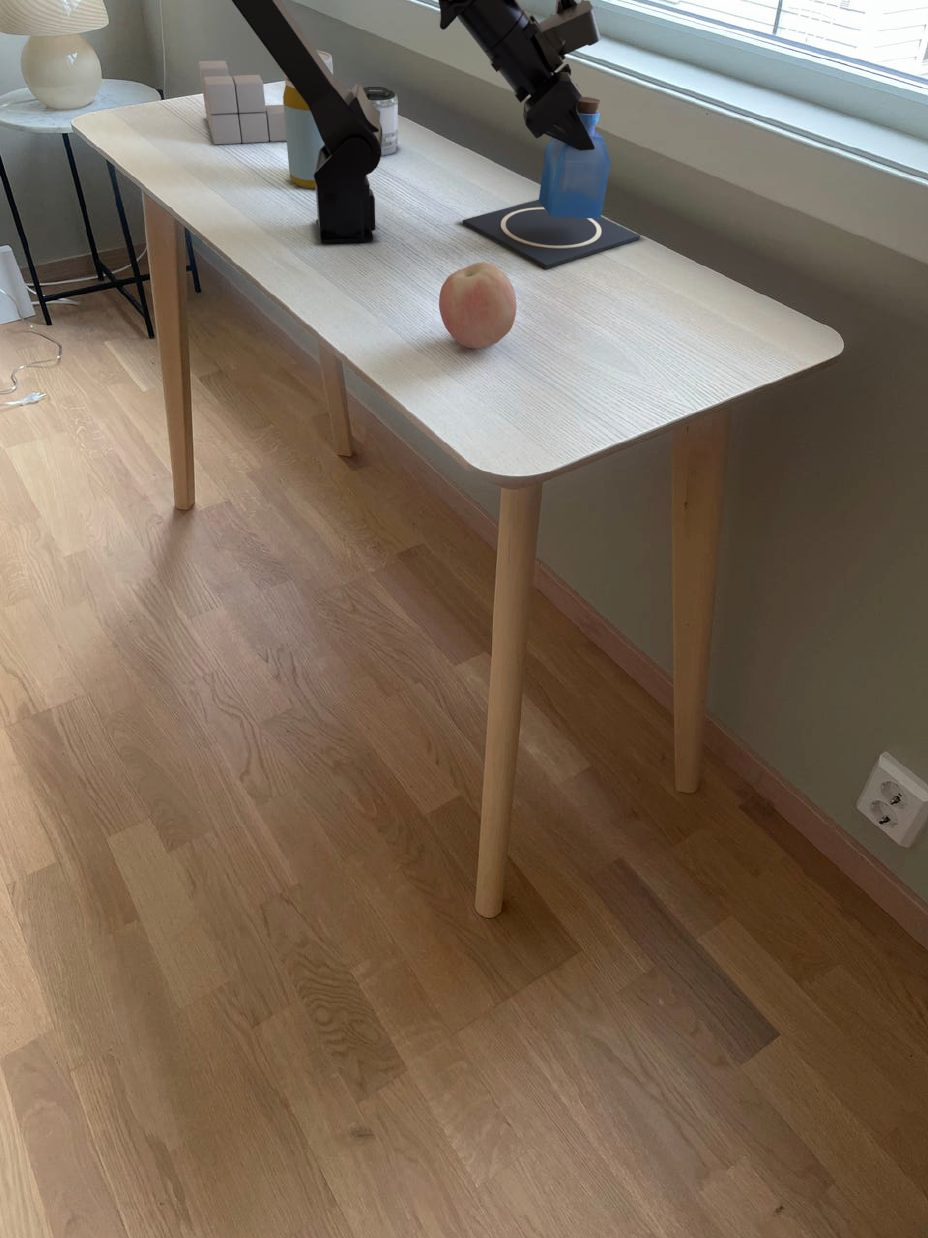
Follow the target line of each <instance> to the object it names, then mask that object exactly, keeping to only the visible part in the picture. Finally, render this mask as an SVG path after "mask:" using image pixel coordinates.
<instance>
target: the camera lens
mask: <svg viewBox="0 0 928 1238" xmlns="http://www.w3.org/2000/svg"><path fill="white" fill-rule="evenodd" d="M362 88H363V90H364V92H365V94H366V96H367V98H368V100H369V102H370V103H371V104H372V105H373V106H374V107H375V108H376V109H377V110H379V111H380V124H381V126H382V131H383V137H382V149H381V156H388V155H391V154H394V153H395V152H396V151H397V145H398V138H399V99H398V95H397V94H396V93H395V92H394V91H393V90H391V89H389V88H387V87H382V86H365V87H362Z"/></svg>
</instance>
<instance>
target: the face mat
mask: <svg viewBox="0 0 928 1238" xmlns="http://www.w3.org/2000/svg"><path fill="white" fill-rule="evenodd" d="M462 224H463V226H466V227H468V228H470V229H472V230H473V231H476V232H477V233H479V234H481V235H483V236H485V237H486V238H488V239H490V240H492V241H493V242H496V243H497V244H499V245H501V246H503V247H504V248H507V249H509V250H510V251H511V252H513V253H516V254H518V255H520V256H521V257H523V258H525V259H527V260H528V261H531V262H532V263H534V264H536V265H537V266H540V267H542V268H544V269H545V270H547V269H551V268H553V267H556V266H560V265H563V264H566V263H569V262H572V261H576V260H578V259H579V260H580V259H582V258H586V257H588V256H592V255H595V254H597V253H600V252H603V251H607V250H610V249H613V248H616V247H619V246H623V245H626V244H629V243H632V242H635V241H638V240H640V239H641V235H640V234H638V233H636V232H634V231H632V230H630V229H628V228H625V227H623V226H621V225H618V224H617V223H615V222H613V221H610V220H608V219H607V218H604V217H602V216H601V219H593V218H568V217H551V216H550V215H549V213H548V212H547V211H546V210H545V208H544V207H543V206H542V205H541V203H540V202H539V199H536V200H532V201H528V202H525V203H520V204H517V205H513V206H510V207H505V208H502V209H499V210H495V211H491V212H487V213H484V214H483V213H482V214H480V215H475V216H472V217H469V218H465V219H462Z"/></svg>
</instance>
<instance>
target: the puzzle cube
mask: <svg viewBox="0 0 928 1238" xmlns="http://www.w3.org/2000/svg"><path fill="white" fill-rule="evenodd" d="M228 67H229V66H228V65H227V63H226V61H225V60H200V61H198V68H199V74H200V81H201V82H200V83H201V89H202V96H203V103H204V110H205V116H206V121H207V125H208V127H209V130H210V134H211V137H212V140H213V144H214V145H231V144H232V145H233V144H235V145H236V144H241V143H242V144H250V143H251V144H252V143H268V142H273V143H274V142H287V140H286V128H285V117H284V105H283V104H266V98H265V97H266V96H265V88H264V81H263V80H262V78H261V76H260V74H246V75H245V74H244V75H232V76H231V75H229V74H230V73H229V68H228Z"/></svg>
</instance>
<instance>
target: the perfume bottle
mask: <svg viewBox="0 0 928 1238" xmlns="http://www.w3.org/2000/svg"><path fill="white" fill-rule="evenodd" d="M600 103H601V100H600V99H598V98H595V97H591V96H583V95H582V97H581V98H580V100H579V101H578V104H577V111H578V113H579V115H580V117H581V119H582V121H583V123H584V125H585V127H586V129H587V131H588V134H589V136H590V138H591V140H592V142H593V144H594V146H595V149H594V150H581V151H580V150H577V149H575V148H573V147H571V146H569V145H567V144H565V143H563V142H561V141H559V140H557V139H555V138H553V137H551V139H550V140H549V141H548V143H547V145H546V146H545V151H544V152H545V153H544V159H543V164H542V165H543V166H542V172H541V180H540V187H539V195H538V200H539V202H540V203H541V205H542V206H543V207H544V208H545V210H546V211H547V212H548V213H549V215H550V216H551V217H568V218H593V219H601V217H602V213H603V208H604V203H605V198H606V197H605V196H606V191H607V187H608V179H609V175H610V169H611V164H612V163H611V160H610V156H609V152H608V150H607V146H606V143H605V140H604V137H603V135H601V134H600V133H599V132H598V131H597V130H595V128H596V124H598V123H599V118H600V111H598V109H599V107H600Z"/></svg>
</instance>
